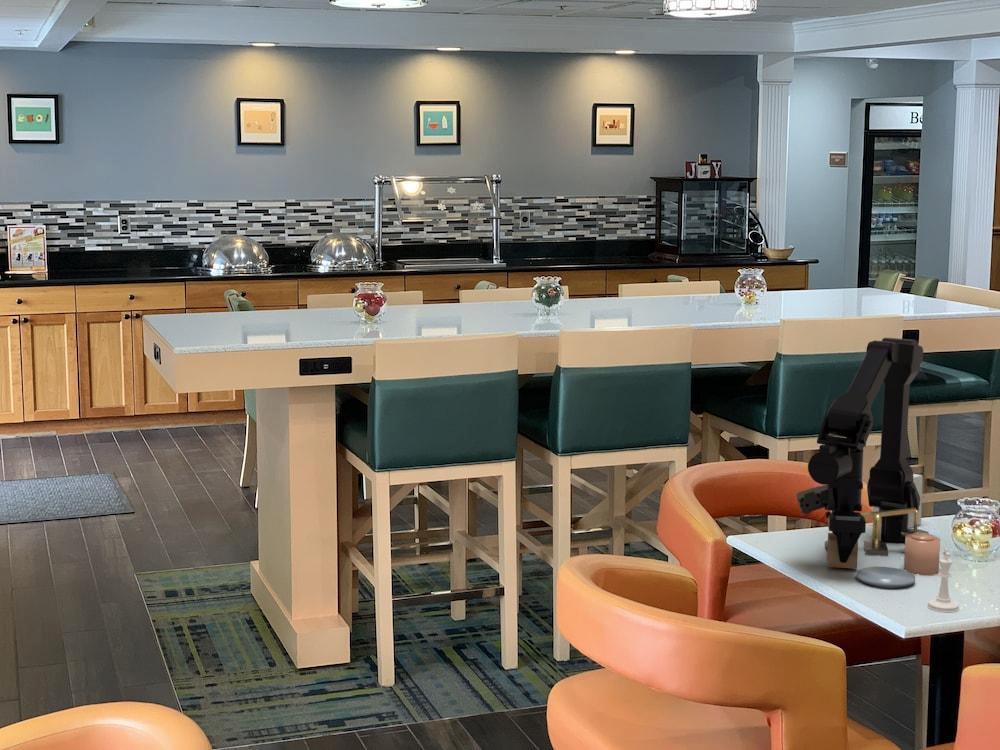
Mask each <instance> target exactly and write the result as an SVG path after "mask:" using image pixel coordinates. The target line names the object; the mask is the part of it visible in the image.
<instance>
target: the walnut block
mask: <svg viewBox="0 0 1000 750" xmlns="http://www.w3.org/2000/svg"><path fill="white" fill-rule="evenodd" d="M827 541H828V548H826V551H827V555H826V562H827V565H828V568H843V569H857V570H858V559H859V555H858V554H859V540H858V541H857V542H856V544H855V546H854V548H853V550H852V552H851V554H850V556H849V558H848V560H847V562H846V563H843V562H840V558H839V552H838V545H837V538H836V535H835V534H834V533H833V532H828V533H827Z"/></svg>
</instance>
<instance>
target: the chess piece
mask: <svg viewBox="0 0 1000 750" xmlns="http://www.w3.org/2000/svg"><path fill="white" fill-rule="evenodd" d="M941 555H943V558H939V567H940V570H941V572H939V573H938V574H937V575H938V576H939V577H941V578H940V579H941V580H940V587H939V590H938V595H937V596H936V598H931V599H930V600H928V601H927V603H928V604H927V607H928V608H929V610H932V611H934V612H939V613H955V612H958V611H959V610H960V608H959V603H957V602H956V601H955V600H952V598H951V597H950V593H949V578H951V577H952V576H953V575H952V573H951V572H949V571H950V568H951V566H952V564H953V561H952V559H950V557H951V553H949V548H944V550H942V551H941ZM928 608H927V609H928Z"/></svg>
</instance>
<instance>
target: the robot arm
mask: <svg viewBox="0 0 1000 750" xmlns="http://www.w3.org/2000/svg"><path fill="white" fill-rule="evenodd" d="M923 359H924V348H923V346H922V345H920V344H919V342H918V340H916V339H907V338H895V337H894V338H893V337H883V338H882V339H881V340H872V341H869V342H868V343H867V346H866V352H865V356H864V358H863V360H862V361H861V364H860V366H859V368H858V369H857V372H856V374H855V376H854V378H853V380H852V382H851V384H850V386H849V388H848V390H847V391H846V392H845V393H844V394H842V395H840V396H838V397H837V398H835V399H834V401H833V402H832V404H831V405H830V407H829V409H828V410H827V411H826V413H825V414H824V418H823V420H822V424H821V428H820V430H819V433H818V436H817V440H816V444H818V445H819V449H818V450H819V451H818V452H817V453H815V454H813V455H812V456H811V457H810V458H809V460H808V461H809V462H808V463H807V472H808V474H809V476H810V477H811V479H812V480H813V481H814V482H815V483H817V484H819V486H816V487H811V488H808V489H804V490H802V491H798V492H797V493H796V500H797V502H798V505H799V509H800V512H801V514H802V515H808V514H810V513H811V512H814V511H816V510H821V509H824V510H827V511H826V512H825V517H826V518H827V528H828V531H829V532H831V533H834V534H835V535H836V538H837V545H838V552H839V558H840V562H843V563H846V562H847V560H848V558H849V556H850V554H851V552H852V550H853V548H854V546H855V544H856V542H857V541H858V542H859V539H860V537H861V535H862V534H865V533H866V527H867V526H866V525H867V523H866V518H864V517H863V516H862V515H861V513H860V512H863V505H862V492H863V491H862V490H863V489H864V483H863V467H864V448H866V446H867V442H868V438H869V436H870V434H871V431H872V429H873V425H874V416H873V413H872V411H871V410H872V409H871V408H872V406H873V403H874V401H875V400H876V397H877V395H878V393H879V391H880V389H881V387H882V384H883V400H882V401H883V402H882V417H881V418H882V419H881V420H882V421H881V435H880V437H881V438H880V451H879V452H880V454H879V459H878V460H877V461H876V463H875V464H874V465H873V466H871V467H870V470H869V478H868V480H867V485H866V486H867V487H866V489H867V499H868V506H869V507H871V508H873V507H879V511H887V510H896V509H905V508H914V507H915V508H916V510H918V511H919V506H920V496H919V493H918V491H917V488H916V486H915V484H914V482H913V474H914V470H913V469H912V467H911V465H910V464H909V462H908V459H906V455H907V454H906V453H907V442H908V441H907V437H908V424H909V423H908V421H909V406H910V405H909V403H910V402H909V401H910V389H911V387H910V385H911V383H913V380H914V379H915V378H916V376H917V375H918V373H919V372H920V368H921V363H922V361H923ZM908 518H909V514H901V515H892V516H883V517H882V524H881V542H891V543H905V537H904V536H902V535H901V531H902V530H904V529H909V528H908Z"/></svg>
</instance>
